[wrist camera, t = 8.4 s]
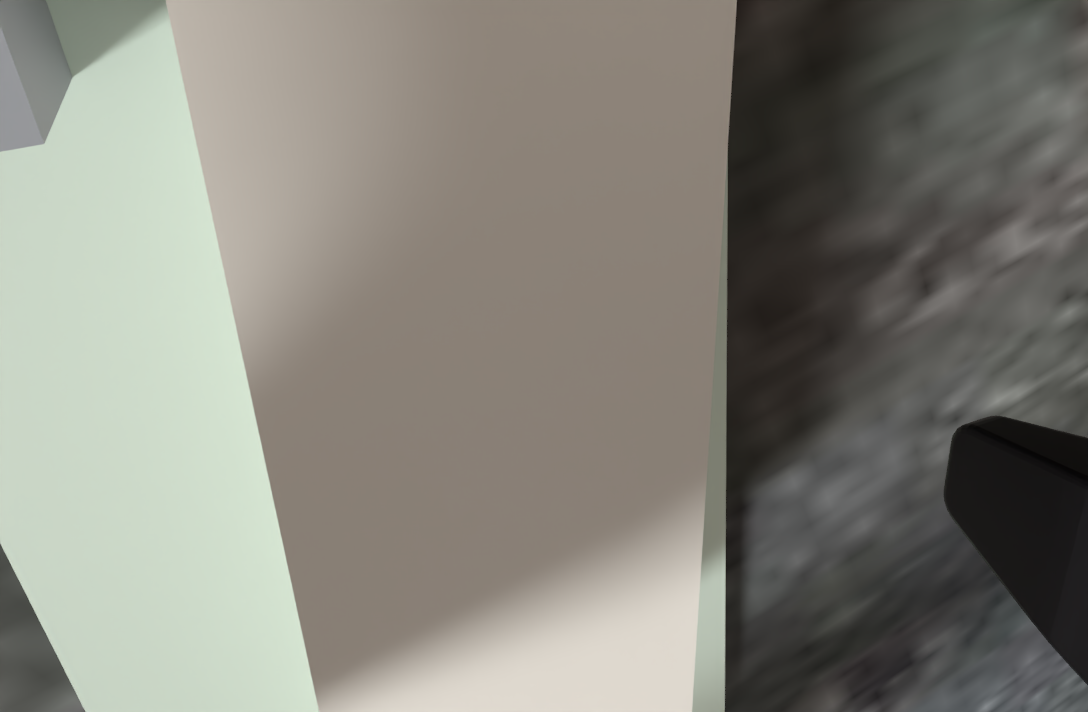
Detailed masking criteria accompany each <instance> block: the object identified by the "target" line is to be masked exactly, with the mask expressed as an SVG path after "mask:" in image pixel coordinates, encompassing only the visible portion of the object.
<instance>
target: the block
mask: <svg viewBox="0 0 1088 712" xmlns="http://www.w3.org/2000/svg"><path fill="white" fill-rule="evenodd" d="M166 5H167V9H168V14H169V19H170V23H171V28H172V33H173V37H174V42H175V46H176V51H177V56H178V60H179V65H180V70H181V74H182V79H183V83H184V88H185V93H186V97H187V102H188V107H189V111H190V116H191V121H192V125H193V130H194V134H195V139H196V144H197V148H198V153H199V158H200V162H201V167H202V172H203V176H204V181H205V185H206V190H207V195H208V199H209V204H210V209H211V213H212V218H213V223H214V227H215V232H216V236H217V241H218V246H219V250H220V255H221V260H222V264H223V269H224V273H225V278H226V283H227V287H228V292H229V297H230V301H231V306H232V311H233V315H234V320H235V324H236V329H237V334H238V338H239V343H240V348H241V352H242V357H243V362H244V366H245V371H246V375H247V380H248V385H249V389H250V394H251V399H252V403H253V408H254V413H255V417H256V422H257V426H258V431H259V436H260V440H261V445H262V450H263V454H264V459H265V463H266V468H267V473H268V477H269V482H270V487H271V491H272V496H273V501H274V505H275V510H276V514H277V519H278V524H279V528H280V533H281V538H282V542H283V547H284V552H285V556H286V561H287V565H288V570H289V575H290V579H291V584H292V589H293V593H294V598H295V602H296V607H297V612H298V616H299V621H300V626H301V630H302V635H303V640H304V644H305V649H306V653H307V658H308V663H309V667H310V672H311V677H312V681H313V686H314V691H315V695H316V700H317V704H318V709H319V712H692V704H693V688H694V672H695V657H696V641H697V625H698V609H699V593H700V577H701V561H702V546H703V530H704V514H705V498H706V482H707V466H708V451H709V435H710V419H711V403H712V387H713V371H714V356H715V340H716V324H717V308H718V292H719V276H720V261H721V245H722V229H723V213H724V197H725V181H726V166H727V150H728V134H729V118H730V102H731V86H732V71H733V55H734V39H735V23H736V7H737V0H166Z"/></svg>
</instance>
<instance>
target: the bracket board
mask: <svg viewBox="0 0 1088 712" xmlns="http://www.w3.org/2000/svg"><path fill="white" fill-rule="evenodd" d="M727 207H728V150H727V166H726V181H725V197H724V213H723V229H722V245H721V261H720V276H719V292H718V308H717V324H716V340H715V356H714V371H713V387H712V403H711V419H710V435H709V451H708V466H707V482H706V498H705V514H704V530H703V546H702V561H701V577H700V593H699V609H698V625H697V641H696V657H695V672H694V688H693V704H692V712H725V580H726V394H727ZM0 544H1V546H2V547H3V549H4V551H5V553H6V555H7V557H8V559H9V561H10V563H11V565H12V567H13V569H14V571H15V573H16V575H17V577H18V579H19V581H20V583H21V585H22V587H23V589H24V591H25V593H26V595H27V597H28V599H29V601H30V603H31V605H32V607H33V609H34V611H35V613H36V615H37V617H38V619H39V621H40V623H41V625H42V626H43V628H44V630H45V632H46V634H47V636H48V638H49V640H50V642H51V644H52V646H53V648H54V650H55V652H56V654H57V656H58V658H59V660H60V662H61V664H62V666H63V668H64V670H65V672H66V674H67V676H68V678H69V680H70V682H71V684H72V686H73V688H74V690H75V692H76V694H77V696H78V698H79V700H80V702H81V704H82V705H83V707H84V709H85V711H86V712H319V709H318V704H317V700H316V695H315V691H314V686H313V681H312V677H311V672H310V667H309V663H308V658H307V653H306V649H305V644H304V640H303V635H302V630H301V626H300V621H299V616H298V612H297V607H296V602H295V598H294V593H293V589H292V584H291V579H290V575H289V570H288V565H287V561H286V556H285V552H284V547H283V542H282V538H281V533H280V528H279V524H278V519H277V514H276V510H275V505H274V501H273V496H272V491H271V487H270V482H269V477H268V473H267V468H266V463H265V459H264V454H263V450H262V445H261V440H260V436H259V431H258V426H257V422H256V417H255V413H254V408H253V403H252V399H251V394H250V389H249V385H248V380H247V375H246V371H245V366H244V362H243V357H242V352H241V348H240V343H239V338H238V334H237V329H236V324H235V320H234V315H233V311H232V306H231V301H230V297H229V292H228V287H227V283H226V278H225V273H224V269H223V264H222V260H221V255H220V250H219V246H218V241H217V236H216V232H215V227H214V223H213V218H212V213H211V209H210V204H209V199H208V195H207V190H206V185H205V181H204V176H203V172H202V167H201V162H200V158H199V153H198V148H197V144H196V139H195V134H194V130H193V125H192V121H191V116H190V111H189V107H188V102H187V97H186V93H185V88H184V83H183V79H182V74H181V70H180V65H179V60H178V56H177V51H176V46H175V42H174V37H173V33H172V28H171V23H170V19H169V14H168V9H167V5H166V0H0Z"/></svg>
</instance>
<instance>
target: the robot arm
mask: <svg viewBox="0 0 1088 712" xmlns="http://www.w3.org/2000/svg"><path fill="white" fill-rule="evenodd" d="M944 501H945V504H946V507H947V510H948V512H949V514H950V516H951V517H952V519H953V520H954V521H955V523H956V524H957V525H958V527H959V528H960V529H961V530H962V532H963V533H964V534H965V536H966V537H967V538H968V540H969V541H970V542H971V543H972V545H973V546H974V547H975V549H976V550H977V551H978V552H979V554H980V555H981V556H982V558H983V559H984V560H985V562H986V563H987V564H988V565H989V567H990V568H991V569H992V571H993V572H994V573H995V574H996V576H997V577H998V578H999V580H1000V581H1001V582H1002V584H1003V585H1004V586H1005V587H1006V589H1007V590H1008V591H1009V593H1010V594H1011V595H1012V596H1013V598H1014V599H1015V600H1016V602H1017V603H1018V604H1019V606H1020V607H1021V608H1022V609H1023V611H1024V612H1025V613H1026V615H1027V616H1028V617H1029V618H1030V620H1031V621H1032V622H1033V624H1034V625H1035V626H1036V627H1037V628H1038V630H1039V631H1040V632H1041V633H1042V635H1043V636H1044V637H1045V638H1046V640H1047V641H1048V642H1049V643H1050V644H1051V645H1052V647H1053V648H1054V649H1055V650H1056V651H1057V652H1058V653H1059V654H1060V656H1061V657H1062V658H1063V659H1064V660H1065V661H1066V662H1067V663H1068V664H1069V666H1070V667H1071V668H1072V669H1073V670H1074V671H1075V672H1076V673H1077V674H1078V675H1079V676H1080V677H1081V678H1082V679H1083V681H1084V682H1085V683H1086V684H1087V685H1088V438H1086V437H1082V436H1078V435H1074V434H1070V433H1066V432H1062V431H1058V430H1054V429H1050V428H1046V427H1042V426H1039V425H1035V424H1031V423H1027V422H1023V421H1019V420H1015V419H1011V418H1007V417H1002V416H990V417H986V418H983V419H980V420H977V421H974V422H971V423H968V424H965V425H962V426H961V427H959V428H958V429H957V430H956V432H955V433H954V435H953V437H952V441H951V447H950V453H949V460H948V466H947V473H946V479H945V486H944Z"/></svg>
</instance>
